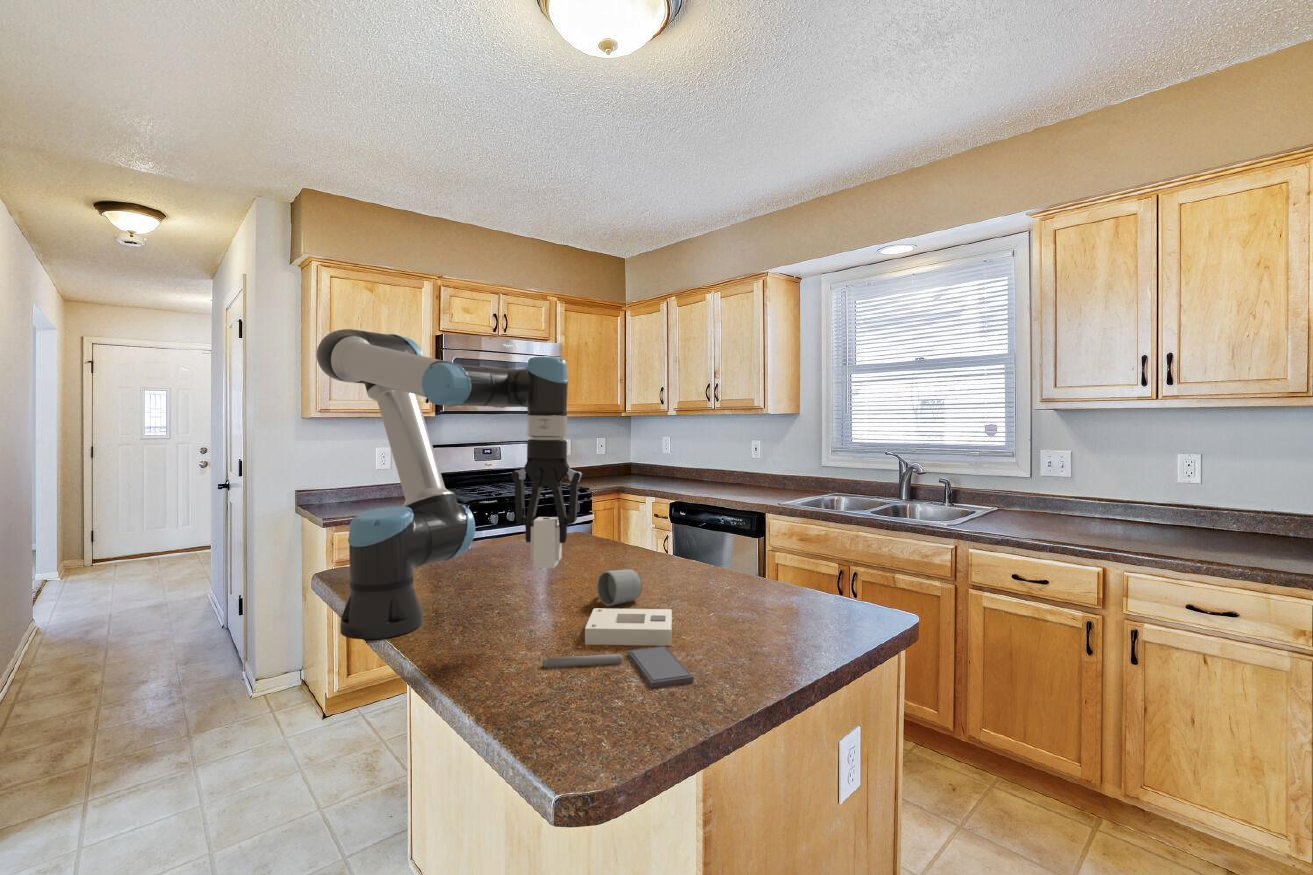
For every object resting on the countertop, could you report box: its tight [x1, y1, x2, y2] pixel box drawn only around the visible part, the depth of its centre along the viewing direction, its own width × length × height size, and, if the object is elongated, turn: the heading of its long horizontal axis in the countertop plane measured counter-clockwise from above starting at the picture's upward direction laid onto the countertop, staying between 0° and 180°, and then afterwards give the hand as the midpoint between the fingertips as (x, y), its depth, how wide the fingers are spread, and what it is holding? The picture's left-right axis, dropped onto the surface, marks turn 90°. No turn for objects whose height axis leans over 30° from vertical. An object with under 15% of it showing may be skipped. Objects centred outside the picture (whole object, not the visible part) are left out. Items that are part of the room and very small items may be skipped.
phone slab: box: [627, 646, 695, 689], centre depth 103 cm, size 7×14×1 cm, turn 18°
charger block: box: [532, 516, 559, 569], centre depth 118 cm, size 4×4×9 cm
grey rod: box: [542, 653, 624, 669], centre depth 104 cm, size 14×2×2 cm, turn 98°
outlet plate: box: [584, 607, 673, 647], centre depth 119 cm, size 16×12×3 cm
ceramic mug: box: [596, 568, 643, 607], centre depth 140 cm, size 11×8×8 cm
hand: (546, 558), depth 118 cm, fingers closed on charger block, 4 cm apart
